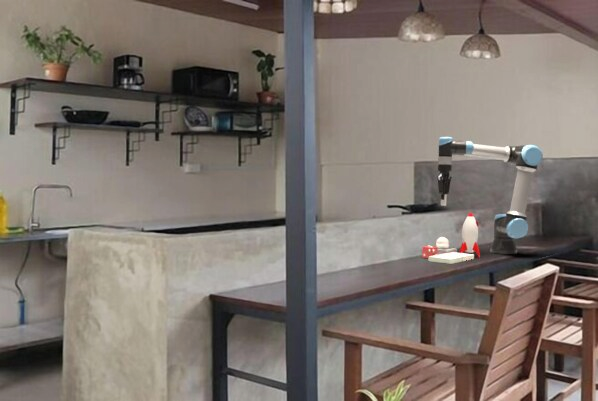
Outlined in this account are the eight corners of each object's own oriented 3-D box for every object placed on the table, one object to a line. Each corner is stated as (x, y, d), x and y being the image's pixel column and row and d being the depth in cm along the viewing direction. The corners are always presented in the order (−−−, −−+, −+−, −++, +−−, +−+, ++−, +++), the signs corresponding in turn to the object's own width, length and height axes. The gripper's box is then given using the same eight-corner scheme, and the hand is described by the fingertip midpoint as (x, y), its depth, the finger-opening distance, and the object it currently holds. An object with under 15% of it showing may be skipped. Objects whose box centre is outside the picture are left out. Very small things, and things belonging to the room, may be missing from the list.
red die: (427, 256, 361) (428, 244, 360) (438, 257, 356) (438, 246, 356) (421, 257, 356) (421, 245, 355) (432, 258, 351) (432, 247, 351)
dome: (439, 248, 372) (440, 235, 371) (450, 250, 367) (451, 237, 367) (433, 250, 366) (433, 236, 366) (444, 251, 362) (445, 237, 361)
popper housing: (438, 253, 375) (438, 246, 375) (456, 255, 367) (456, 248, 367) (427, 255, 366) (427, 248, 366) (446, 257, 358) (446, 250, 358)
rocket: (479, 258, 358) (481, 213, 356) (460, 257, 360) (461, 213, 358) (478, 255, 369) (479, 212, 367) (459, 254, 371) (460, 211, 369)
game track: (452, 256, 363) (452, 252, 363) (474, 259, 354) (474, 254, 354) (428, 261, 343) (428, 256, 343) (450, 264, 334) (450, 259, 334)
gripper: (444, 164, 371) (443, 204, 373) (433, 163, 362) (431, 205, 363) (456, 164, 366) (454, 205, 368) (445, 164, 357) (443, 206, 358)
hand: (443, 205), depth 365 cm, fingers closed
